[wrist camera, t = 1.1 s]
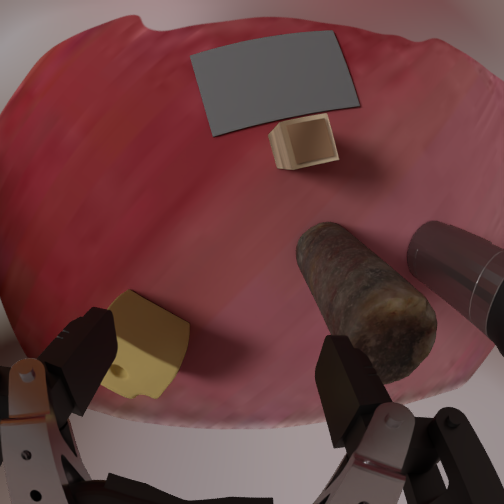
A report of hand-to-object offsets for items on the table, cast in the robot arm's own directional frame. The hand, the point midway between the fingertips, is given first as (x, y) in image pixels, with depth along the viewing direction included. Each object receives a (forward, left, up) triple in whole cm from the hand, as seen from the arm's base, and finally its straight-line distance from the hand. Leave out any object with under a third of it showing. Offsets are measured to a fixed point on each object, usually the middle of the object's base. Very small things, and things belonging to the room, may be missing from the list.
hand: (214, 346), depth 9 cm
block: (-8, -6, -24) cm, 26 cm away
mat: (-9, -15, -24) cm, 30 cm away
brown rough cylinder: (-9, +7, -24) cm, 27 cm away
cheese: (+17, +12, -24) cm, 31 cm away
